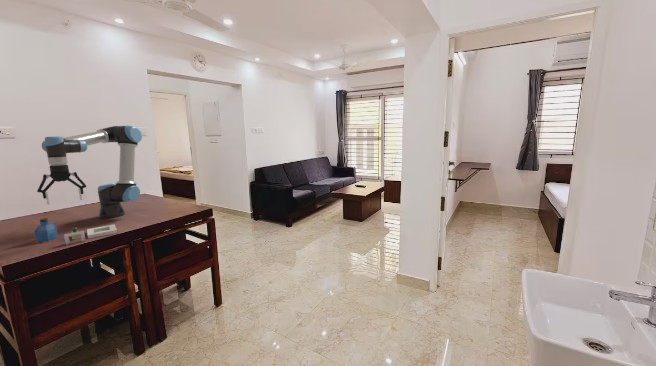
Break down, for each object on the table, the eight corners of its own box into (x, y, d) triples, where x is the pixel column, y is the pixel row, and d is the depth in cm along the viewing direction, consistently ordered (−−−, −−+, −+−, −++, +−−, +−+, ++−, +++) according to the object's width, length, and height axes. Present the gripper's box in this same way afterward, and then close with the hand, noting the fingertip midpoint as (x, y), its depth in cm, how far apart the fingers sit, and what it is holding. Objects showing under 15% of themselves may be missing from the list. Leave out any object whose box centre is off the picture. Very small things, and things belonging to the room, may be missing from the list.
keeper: (65, 243, 153) (64, 234, 152) (85, 239, 159) (83, 230, 158) (65, 244, 152) (63, 235, 151) (85, 240, 157) (84, 231, 156)
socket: (87, 232, 170) (86, 229, 170) (115, 227, 179) (114, 224, 179) (88, 238, 160) (87, 235, 160) (117, 232, 169) (116, 229, 169)
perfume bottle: (46, 237, 163) (42, 217, 160) (58, 237, 163) (54, 217, 161) (36, 241, 157) (32, 221, 154) (48, 241, 157) (44, 220, 155)
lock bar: (72, 236, 165) (70, 227, 164) (79, 234, 166) (77, 226, 166) (72, 239, 159) (70, 231, 158) (79, 238, 161) (77, 230, 160)
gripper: (25, 167, 145) (33, 207, 148) (88, 163, 162) (94, 199, 165) (26, 166, 150) (34, 204, 154) (87, 162, 167) (93, 197, 171)
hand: (65, 201), depth 160 cm, fingers open, 13 cm apart
